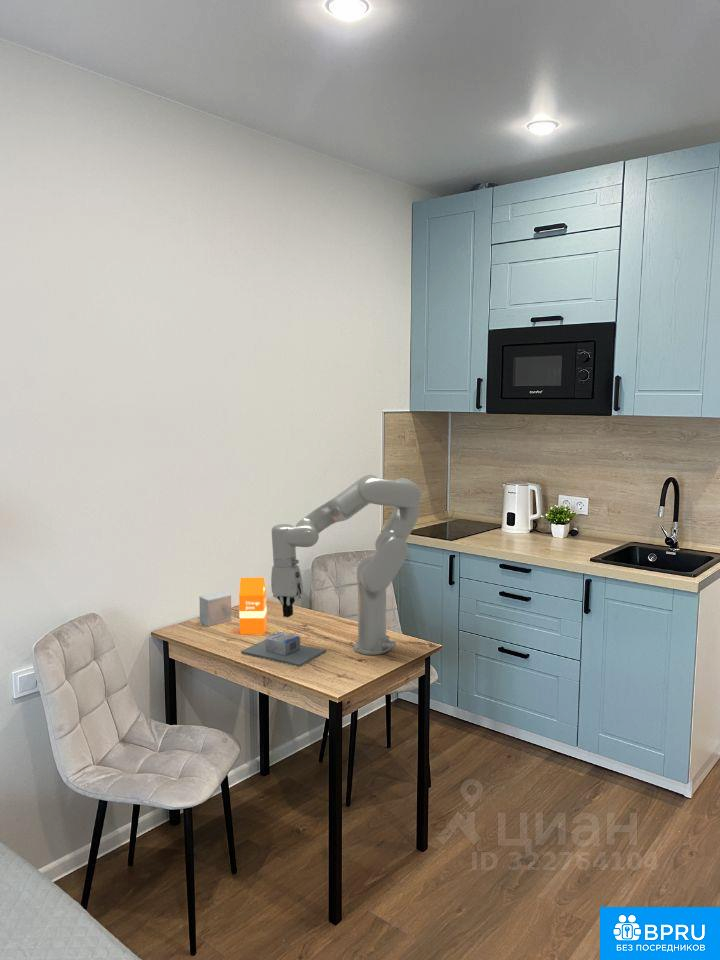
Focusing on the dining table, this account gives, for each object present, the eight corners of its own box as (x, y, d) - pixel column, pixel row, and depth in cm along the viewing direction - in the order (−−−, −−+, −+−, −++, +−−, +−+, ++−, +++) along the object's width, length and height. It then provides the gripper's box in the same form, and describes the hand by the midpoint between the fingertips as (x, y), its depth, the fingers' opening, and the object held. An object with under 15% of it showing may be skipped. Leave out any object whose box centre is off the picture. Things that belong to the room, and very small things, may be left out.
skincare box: (208, 627, 268) (207, 599, 267) (199, 623, 273) (198, 596, 272) (232, 621, 276) (231, 594, 274) (222, 617, 280) (222, 591, 279)
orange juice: (243, 627, 268) (242, 574, 266) (267, 627, 268) (266, 574, 266) (239, 634, 260) (238, 580, 258) (264, 634, 260) (263, 580, 258)
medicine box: (285, 643, 236) (265, 637, 240) (285, 656, 236) (265, 650, 241) (300, 636, 242) (280, 631, 247) (300, 649, 243) (280, 644, 248)
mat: (325, 652, 242) (325, 649, 242) (300, 666, 229) (300, 664, 229) (268, 640, 254) (268, 637, 254) (241, 653, 241) (241, 651, 241)
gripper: (310, 561, 237) (313, 615, 239) (273, 557, 244) (276, 610, 246) (296, 566, 230) (300, 622, 233) (259, 562, 238) (263, 616, 240)
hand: (288, 615), depth 239 cm, fingers closed
